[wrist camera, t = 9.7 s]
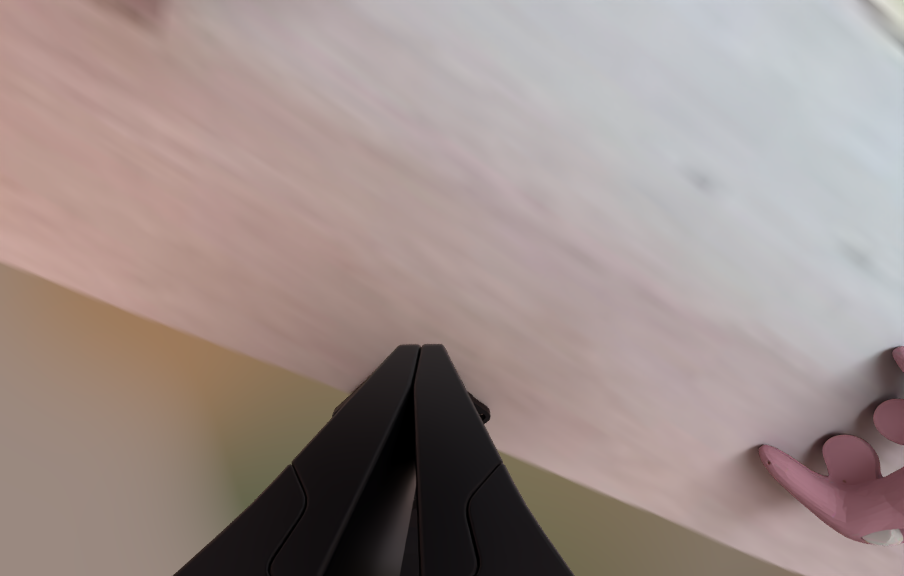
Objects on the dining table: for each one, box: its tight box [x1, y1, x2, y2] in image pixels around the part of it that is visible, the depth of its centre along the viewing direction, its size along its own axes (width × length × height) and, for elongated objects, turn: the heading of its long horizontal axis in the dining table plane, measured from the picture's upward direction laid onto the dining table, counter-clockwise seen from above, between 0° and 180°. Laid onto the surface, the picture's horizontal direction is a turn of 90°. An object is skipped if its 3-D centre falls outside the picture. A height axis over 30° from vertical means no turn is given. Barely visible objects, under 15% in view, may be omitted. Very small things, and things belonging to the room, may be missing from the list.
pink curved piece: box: [759, 346, 904, 546], centre depth 25 cm, size 10×5×7 cm, turn 149°
